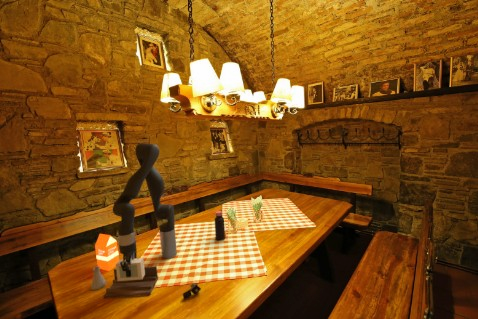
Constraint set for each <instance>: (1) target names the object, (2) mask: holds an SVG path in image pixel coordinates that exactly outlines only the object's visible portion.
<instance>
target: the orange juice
mask: <svg viewBox="0 0 478 319" xmlns="http://www.w3.org/2000/svg"><path fill="white" fill-rule="evenodd" d="M94 248H95V256H96V262H97V266H100V270H103V271H107V272H108V271H109V272H110V271H111V270H114V269H115V268H116V263H117V262H118V261H119V260H120V256H119V255H120V254H119V253H120V252H119V245H118V241H117V240H116V239H115V238H114V237H113V236H112V235H110V234H103V233H99V235H98V238H97V240H96V243H95V245H94Z"/></svg>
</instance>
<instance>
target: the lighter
mask: <svg viewBox="0 0 478 319" xmlns="http://www.w3.org/2000/svg"><path fill="white" fill-rule="evenodd" d="M201 290H202V288H201V287H200V286H199V285H198V284H197V283H195V282H194V283H191V285H190V289H188V290H186V291H185V292H183V293H182V296H183V299H184V300H188V299H189V298H191V297H192V296H193V295H194V296H196V295H198V293H199V292H200V291H201Z"/></svg>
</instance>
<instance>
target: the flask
mask: <svg viewBox="0 0 478 319" xmlns="http://www.w3.org/2000/svg"><path fill="white" fill-rule="evenodd" d="M92 270H93V278H92V282H91V285H90V290H91V291H96V290H100V289H103V288H104V287H105V286H106V285H107V281H106V279H105V278H104V276H103V275H102V273H101V269H100V266H98V265H96V266H95V267H93V268H92Z"/></svg>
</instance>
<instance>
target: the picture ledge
mask: <svg viewBox="0 0 478 319" xmlns="http://www.w3.org/2000/svg"><path fill="white" fill-rule="evenodd" d="M144 269H145V275H144V277H143V279H141V280H127V281H118V280H117V272H116V268H113V274H114V275H113V276H114V278H113V280H112V285H110V287H106V289H105V293H104V295H103V299H111V298H112V299H115V298H125V297H126V298H128V297H129V298H130V297H139V296H140V297H141V296H143V297H144V296H151V294H152V292H153V291H154V288H155V286H156V283H157V282H158V281H159V277H158V267H157V265H153V266H144Z"/></svg>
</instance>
